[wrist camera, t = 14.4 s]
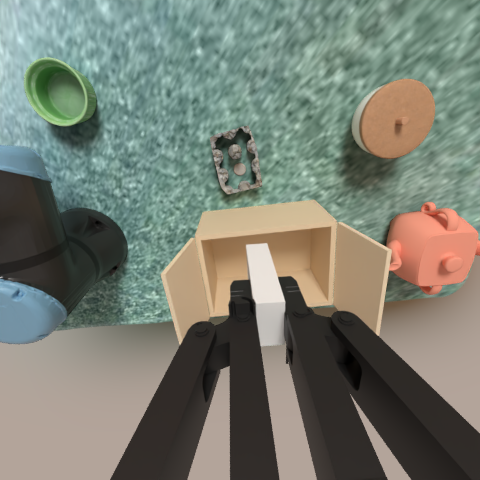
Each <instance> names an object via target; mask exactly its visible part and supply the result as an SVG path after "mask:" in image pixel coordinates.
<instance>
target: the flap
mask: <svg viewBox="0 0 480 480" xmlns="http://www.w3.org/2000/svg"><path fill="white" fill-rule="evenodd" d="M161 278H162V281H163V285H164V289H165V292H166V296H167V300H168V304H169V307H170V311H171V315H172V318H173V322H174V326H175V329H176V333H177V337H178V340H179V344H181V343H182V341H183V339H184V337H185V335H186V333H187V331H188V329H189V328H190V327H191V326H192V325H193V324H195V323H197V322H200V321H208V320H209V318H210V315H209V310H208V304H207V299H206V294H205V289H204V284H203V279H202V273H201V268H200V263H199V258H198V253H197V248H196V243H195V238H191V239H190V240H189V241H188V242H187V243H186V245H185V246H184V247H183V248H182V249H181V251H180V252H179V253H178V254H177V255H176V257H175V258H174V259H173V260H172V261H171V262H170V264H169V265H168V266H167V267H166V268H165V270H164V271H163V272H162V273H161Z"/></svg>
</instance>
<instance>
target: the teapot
mask: <svg viewBox="0 0 480 480" xmlns="http://www.w3.org/2000/svg"><path fill="white" fill-rule="evenodd" d="M386 247H387V248H389V249H391V250H392V253H391V260H390V267H389V271H392V272H393V273H395V274H396V275H398V276H399V277H401V278H402V279H404V280H406V281H408V282H410V283H412V284H415V285H417V286H419V287H420V288H421V290H422V291H423V292H424V293H426V294H429V295H433V294H437V293H438V292H440V291H441V289H442V285H447V284H455V283H460V282H462V281H463V280H464V279H465V278H466V276H467V274H468V272H469V270H470V268H471V265H472V263H473V260H474V257H475V255H479V256H480V241H479V240H478V232H477V231H476V230H475V229H474V228H473V227H472V226H471V225H470V224H469V223H468V222H467V221H465V220H464V219H463V218H461V217H460V216H458V215H457V213H456V212H455V211H454V210H452V209H448V208H441V209H436V205H435V204H434V203H432V202H426V203H424V204H423V205H422V207H421V211H416V212H408V213H402V214H398V215H396V216H395V217H394V219H392V220H391V222H390V230H389V233H388V237H387V243H386ZM429 286H432V288H430V287H429Z"/></svg>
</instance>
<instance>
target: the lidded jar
mask: <svg viewBox="0 0 480 480" xmlns="http://www.w3.org/2000/svg"><path fill="white" fill-rule="evenodd" d="M434 115H435V103H434V99H433V96H432V94H431V92H430V90H429V89H428V88H427V87H426V86H425V85H424V84H423V83H421V82H419V81H417V80H413V79H401V80H396V81H393V82H391V83H388V84H386V85H383V86H381V87H379V88H377V89H375V90H373V91H372V92H371V93H369V94H368V95H367V96H366V97H365V98H364V99H363V100H362V101H361V102H360V104H359V105H358V107H357V108H356V110H355V113H354V115H353V119H352V134H353V137H354V139H355V141H356V143H357V144H358V145H359V146H360V147H361V148H362V149H363V150H364V151H366V152H368V153H370V154H373V155H375V156H377V157H380V158H386V159H393V158H398V157H401V156H404V155H406V154H408V153H410V152H411V151H413V150H414V149H415V148H416V147H417V146H419V145H420V143H421V142H422V141H423V140H424V139H425V137H426V136H427V134H428V132H429V131H430V129H431V126H432V124H433V120H434Z"/></svg>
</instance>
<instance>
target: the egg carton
mask: <svg viewBox="0 0 480 480" xmlns="http://www.w3.org/2000/svg"><path fill="white" fill-rule="evenodd" d="M240 128H242V129H243V131H244V132H245V133H248V134H250V137H251V139H250V140H249V141H248V142H247V150H248V151H249V152H250V153H252V154H254V155H255V158H254V159H253V160H252V162H251V167H252V171H253V172H254V173H256V181H255V184H252V185H250V184H249V182H248V181H242V182H240V183H239V185H238V189H233V188H232V187H231V186H228V185H227V186H226V185H225V182H226V181H227V180H228V171H227V170H226V169H225V168H220V163H221V162H222V161H223V153H222V151H221V150H219V149H215V147H216V145H215V142H216V141H217V139H218V138H220V137H221V136H223V137H224V138H227V139H233V138H234V136H235V135H236V132H237V131H238V129H239V128H238V129H233V130H230V131H227V132H224V133H219V134H216V135H214V136H212V137H210V142H211V148H212V152H213V156H214V161H215V165H216V169H217V173H218V178H219V182H220V185H221V188H222V189H223V190H224V191H225V192H226V193H227V194H232V193H236V192H240V191H244V190H249V189H253V188H257V187H261V186H262V181H261V174H260V166H259V160H258V153H257V148H256V145H255V142H254V139H253V136H252V134H251V131H250V129H249V126H245V127H240ZM241 152H242V151H241V148H240V146H239V145H237V144H232V145H231V146H230V147H229V149H228V154H229V156H230V157H231V158H232V159H239V158H240V157H241ZM245 171H246V167H245V165H244V164H242V163H237V164H236V165H235V166H234V172H235V174H237V175H239V176H240V175H243V174H244V173H245Z"/></svg>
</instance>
